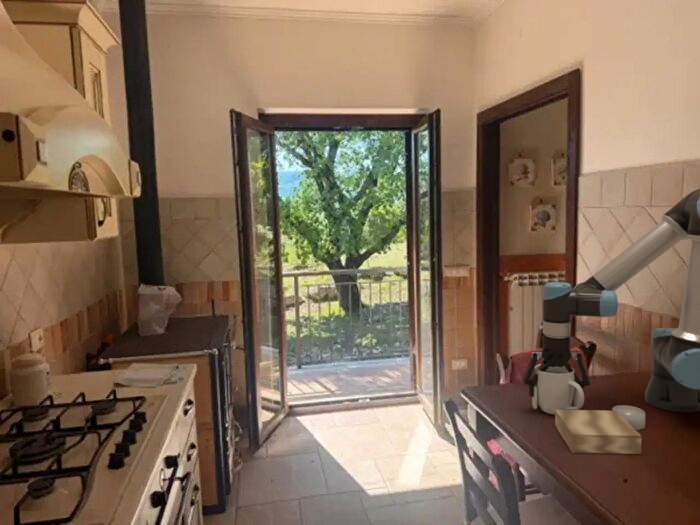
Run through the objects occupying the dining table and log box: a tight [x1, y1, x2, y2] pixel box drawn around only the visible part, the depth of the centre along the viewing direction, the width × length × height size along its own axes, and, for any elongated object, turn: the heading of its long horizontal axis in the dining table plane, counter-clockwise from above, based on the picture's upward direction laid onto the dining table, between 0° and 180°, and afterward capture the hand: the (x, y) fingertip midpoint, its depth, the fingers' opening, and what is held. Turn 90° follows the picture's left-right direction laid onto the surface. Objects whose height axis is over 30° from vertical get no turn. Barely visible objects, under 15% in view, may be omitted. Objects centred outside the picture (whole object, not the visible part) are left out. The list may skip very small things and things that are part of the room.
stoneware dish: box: [611, 404, 646, 431], centre depth 142 cm, size 8×8×4 cm
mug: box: [534, 363, 585, 416], centre depth 151 cm, size 15×11×13 cm
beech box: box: [554, 409, 642, 455], centre depth 134 cm, size 16×16×5 cm
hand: (555, 407), depth 153 cm, fingers closed on mug, 11 cm apart
